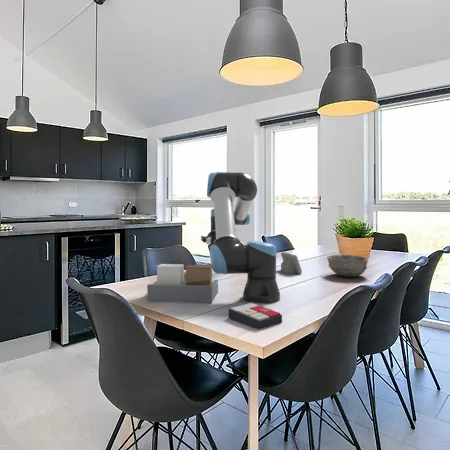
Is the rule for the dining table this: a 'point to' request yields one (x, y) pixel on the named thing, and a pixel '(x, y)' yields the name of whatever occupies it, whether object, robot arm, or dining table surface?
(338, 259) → the bowl
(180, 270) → the light grey block
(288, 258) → the grey lumpy piece
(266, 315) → the calculator
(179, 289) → the grey tray
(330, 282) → the dining table surface
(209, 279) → the brown block
